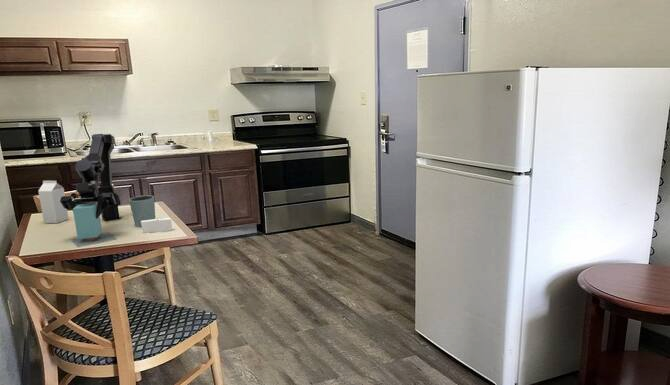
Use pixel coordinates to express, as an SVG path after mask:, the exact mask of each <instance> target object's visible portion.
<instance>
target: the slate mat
mask: <svg viewBox="0 0 670 385" xmlns="http://www.w3.org/2000/svg"><path fill="white" fill-rule="evenodd" d="M70 240H71V242H72V243H73V244H74V245H75V246H76V247H77V248H81V247H86V246H90V245H94V244H101V243H105V242H109V241H115V240H118V238H117V237H116V236H114V235H113V233H111V232H110V231H108V232H102V233H101V234H100V235H99V236H98V237H96V239H95V240H91V241H86V240H85V239H78V238H77V237H76V238H72V239H70Z"/></svg>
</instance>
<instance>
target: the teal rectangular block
mask: <svg viewBox="0 0 670 385" xmlns="http://www.w3.org/2000/svg"><path fill="white" fill-rule="evenodd" d="M97 206H98V203H97V202H95V203H80V204H77V206H76V207H75V208H73V210H72V214H73V213H74V214H73V218H74V219H73V220H74V224H75V231H76V235H77V236H76V239H77V238H78V239H85V238H95V237H98V236H99V235H100V234H102V233H103V228H102V223H101V222H102V221H101V215H100V216H99V217H98V219H96V211H97Z"/></svg>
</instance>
